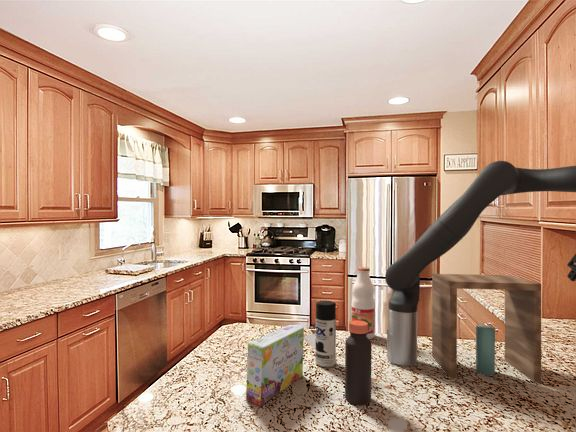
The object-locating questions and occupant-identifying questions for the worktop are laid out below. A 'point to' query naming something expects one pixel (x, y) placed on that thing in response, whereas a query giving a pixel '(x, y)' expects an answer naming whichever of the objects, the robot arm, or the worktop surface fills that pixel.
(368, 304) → the fruit juice
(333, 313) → the spray can
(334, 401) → the worktop surface
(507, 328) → the walnut shelf
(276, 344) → the snack box
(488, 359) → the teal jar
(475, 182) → the robot arm
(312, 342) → the kitchen cleaver
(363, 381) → the bottle
